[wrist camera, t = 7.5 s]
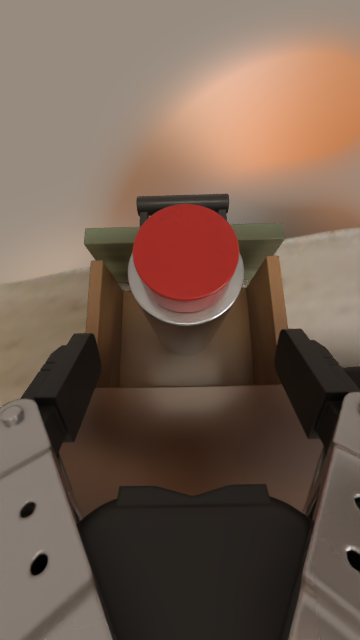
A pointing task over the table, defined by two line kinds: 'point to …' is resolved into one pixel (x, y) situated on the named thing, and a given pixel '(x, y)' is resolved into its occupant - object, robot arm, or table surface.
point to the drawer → (230, 339)
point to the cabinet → (190, 442)
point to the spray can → (185, 275)
